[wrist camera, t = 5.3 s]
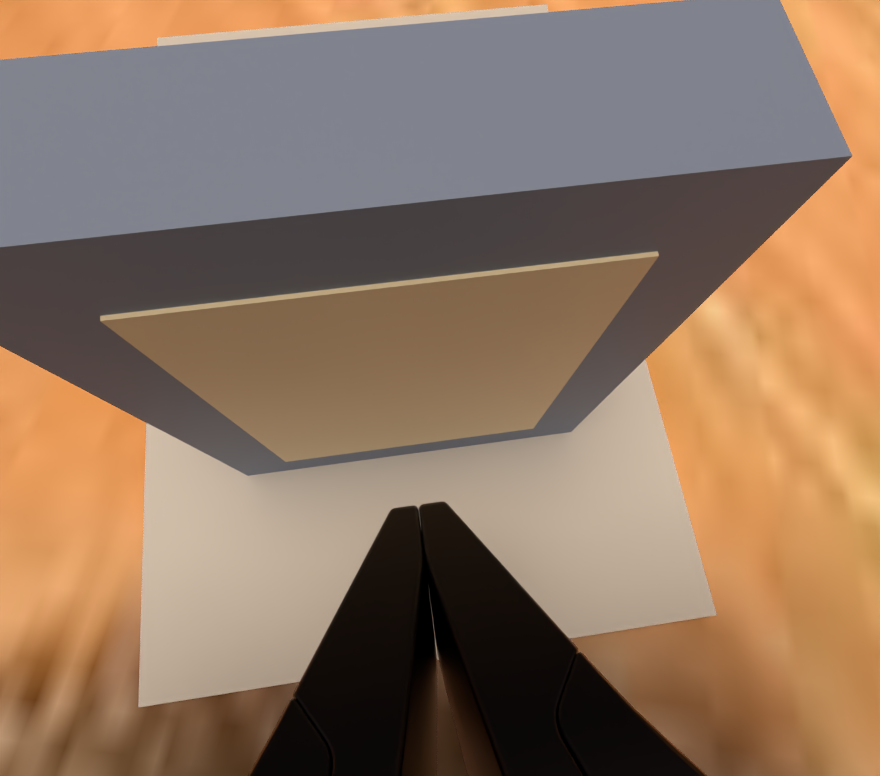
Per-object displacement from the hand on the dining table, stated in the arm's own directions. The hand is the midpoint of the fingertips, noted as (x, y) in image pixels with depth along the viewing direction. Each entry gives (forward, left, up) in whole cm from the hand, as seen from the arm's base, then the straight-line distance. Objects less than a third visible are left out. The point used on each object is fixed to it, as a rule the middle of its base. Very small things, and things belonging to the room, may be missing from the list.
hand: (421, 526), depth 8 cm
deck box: (+4, -2, -8) cm, 9 cm away
